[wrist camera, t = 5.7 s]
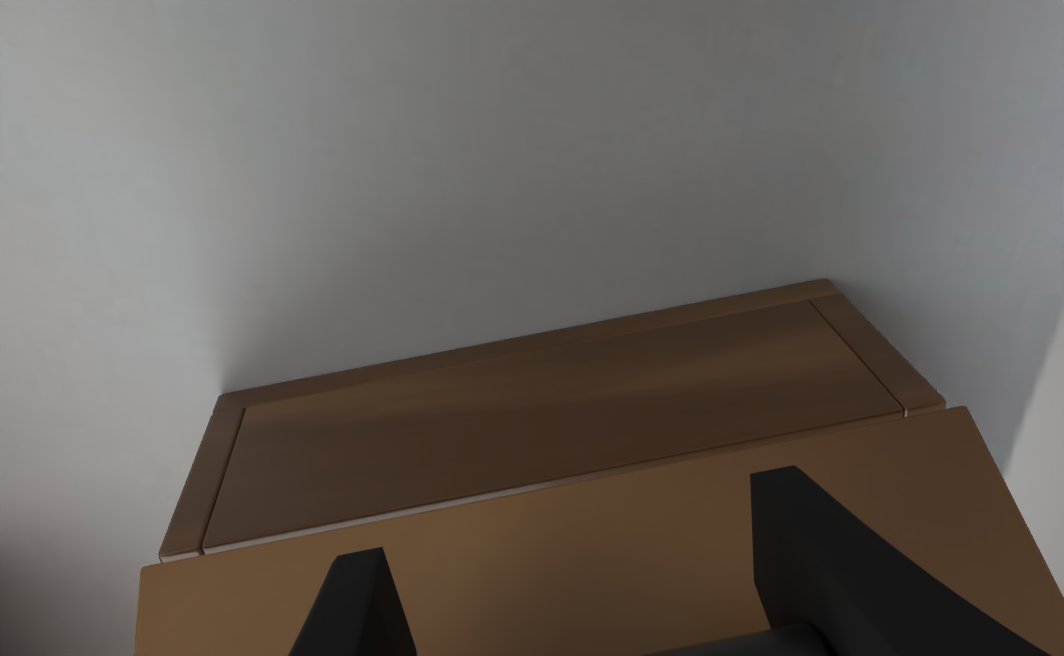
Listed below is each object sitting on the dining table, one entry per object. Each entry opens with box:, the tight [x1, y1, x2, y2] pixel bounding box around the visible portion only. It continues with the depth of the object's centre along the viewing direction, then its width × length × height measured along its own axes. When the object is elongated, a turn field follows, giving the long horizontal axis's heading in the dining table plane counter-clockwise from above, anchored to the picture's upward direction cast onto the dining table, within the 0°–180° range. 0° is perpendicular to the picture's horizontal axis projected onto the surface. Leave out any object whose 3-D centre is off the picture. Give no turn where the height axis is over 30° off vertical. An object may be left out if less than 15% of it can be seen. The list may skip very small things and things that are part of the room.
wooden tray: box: [158, 279, 946, 563], centre depth 20 cm, size 12×15×5 cm
